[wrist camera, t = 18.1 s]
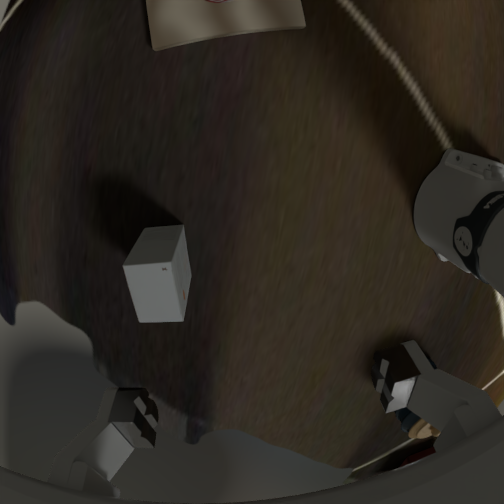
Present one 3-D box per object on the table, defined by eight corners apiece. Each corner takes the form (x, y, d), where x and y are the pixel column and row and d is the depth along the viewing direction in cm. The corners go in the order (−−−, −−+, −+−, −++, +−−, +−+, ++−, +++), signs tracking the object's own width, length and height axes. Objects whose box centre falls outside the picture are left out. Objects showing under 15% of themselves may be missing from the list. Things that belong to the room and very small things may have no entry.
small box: (144, 226, 40) (120, 263, 30) (184, 223, 40) (171, 260, 30) (154, 278, 43) (137, 324, 34) (192, 276, 43) (183, 322, 34)
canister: (372, 384, 58) (400, 449, 42) (419, 346, 54) (458, 408, 39) (397, 399, 62) (423, 455, 47) (439, 366, 59) (472, 420, 43)
